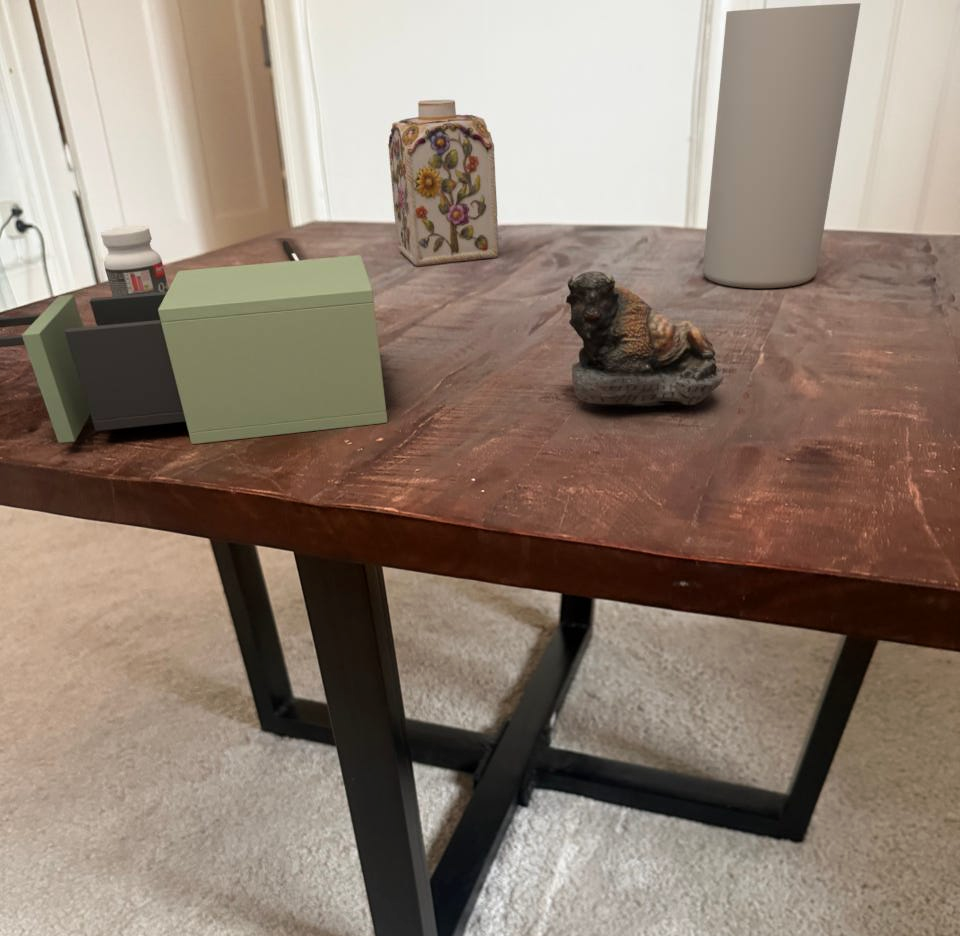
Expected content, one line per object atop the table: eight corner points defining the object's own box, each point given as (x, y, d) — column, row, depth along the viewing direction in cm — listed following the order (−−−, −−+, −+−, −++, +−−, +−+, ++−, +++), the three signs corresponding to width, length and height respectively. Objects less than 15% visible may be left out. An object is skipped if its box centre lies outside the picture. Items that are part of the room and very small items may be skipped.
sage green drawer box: (191, 444, 65) (157, 309, 60) (205, 390, 76) (177, 270, 70) (387, 422, 67) (372, 289, 61) (374, 372, 77) (361, 254, 72)
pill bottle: (182, 332, 92) (158, 230, 86) (127, 341, 90) (98, 237, 84) (172, 320, 96) (148, 222, 91) (119, 329, 94) (91, 229, 89)
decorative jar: (396, 251, 122) (382, 101, 112) (476, 242, 124) (469, 94, 114) (414, 268, 113) (400, 105, 102) (500, 258, 115) (494, 98, 105)
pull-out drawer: (-23, 452, 63) (-67, 342, 59) (18, 400, 73) (-17, 302, 68) (245, 423, 66) (222, 315, 61) (251, 376, 75) (232, 280, 71)
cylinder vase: (736, 261, 107) (765, 10, 93) (835, 272, 99) (882, 2, 85) (681, 281, 100) (702, 12, 85) (782, 295, 92) (824, 4, 78)
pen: (296, 270, 114) (294, 261, 113) (281, 245, 129) (280, 237, 129) (303, 270, 114) (301, 261, 114) (287, 245, 129) (286, 237, 129)
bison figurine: (703, 385, 70) (716, 252, 65) (734, 415, 65) (752, 272, 59) (557, 398, 70) (558, 264, 64) (576, 430, 64) (577, 286, 58)
